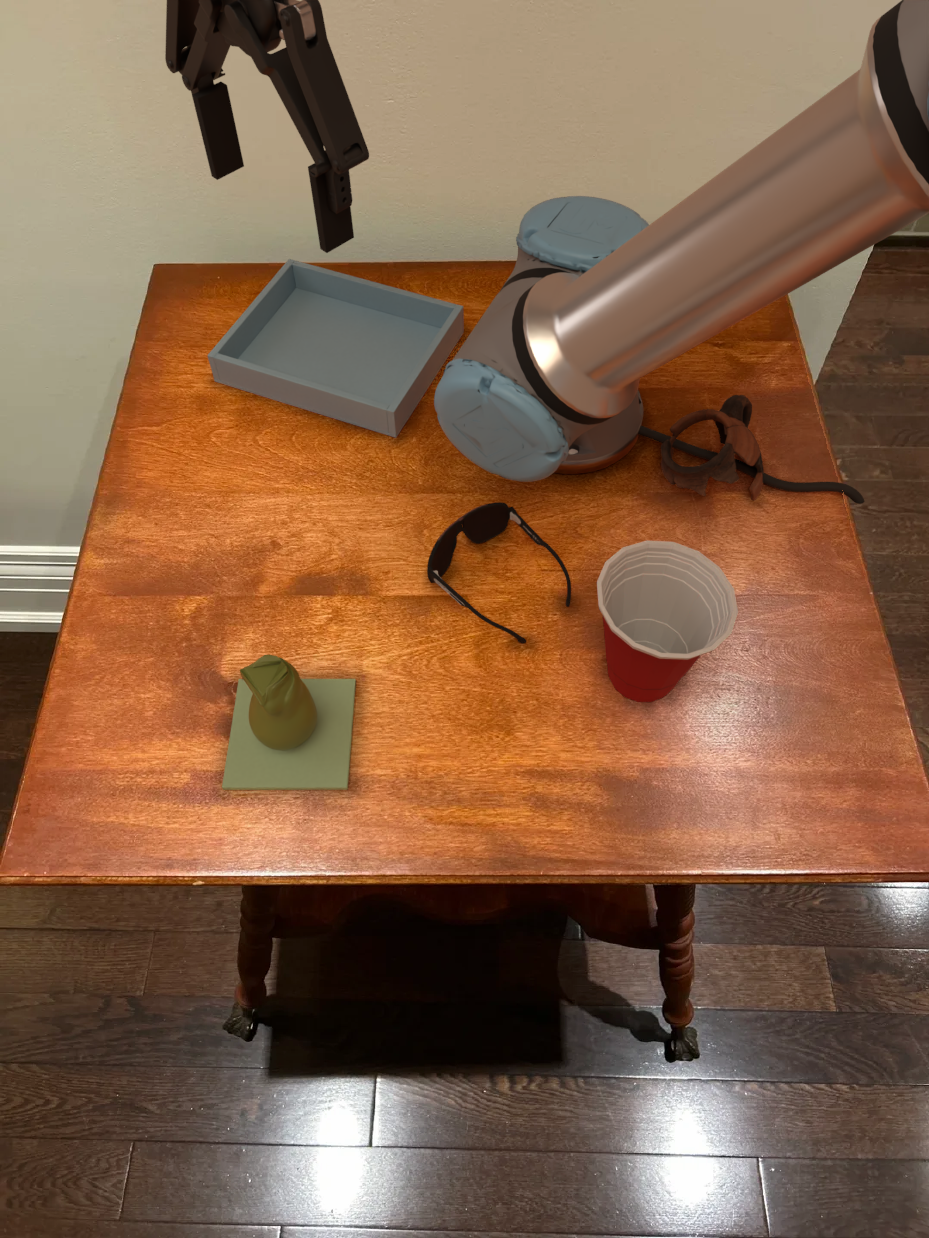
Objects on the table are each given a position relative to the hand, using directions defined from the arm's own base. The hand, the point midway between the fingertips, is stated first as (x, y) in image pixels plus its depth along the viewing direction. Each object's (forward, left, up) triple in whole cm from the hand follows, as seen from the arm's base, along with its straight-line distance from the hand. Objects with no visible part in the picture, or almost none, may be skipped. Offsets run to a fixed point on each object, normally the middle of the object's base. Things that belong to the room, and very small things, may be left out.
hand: (280, 206), depth 75 cm
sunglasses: (-25, 0, -27) cm, 37 cm away
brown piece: (-30, -25, -27) cm, 47 cm away
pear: (-23, +23, -26) cm, 42 cm away
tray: (+9, -10, -27) cm, 30 cm away
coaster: (-23, +23, -27) cm, 42 cm away
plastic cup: (-40, -2, -27) cm, 48 cm away
